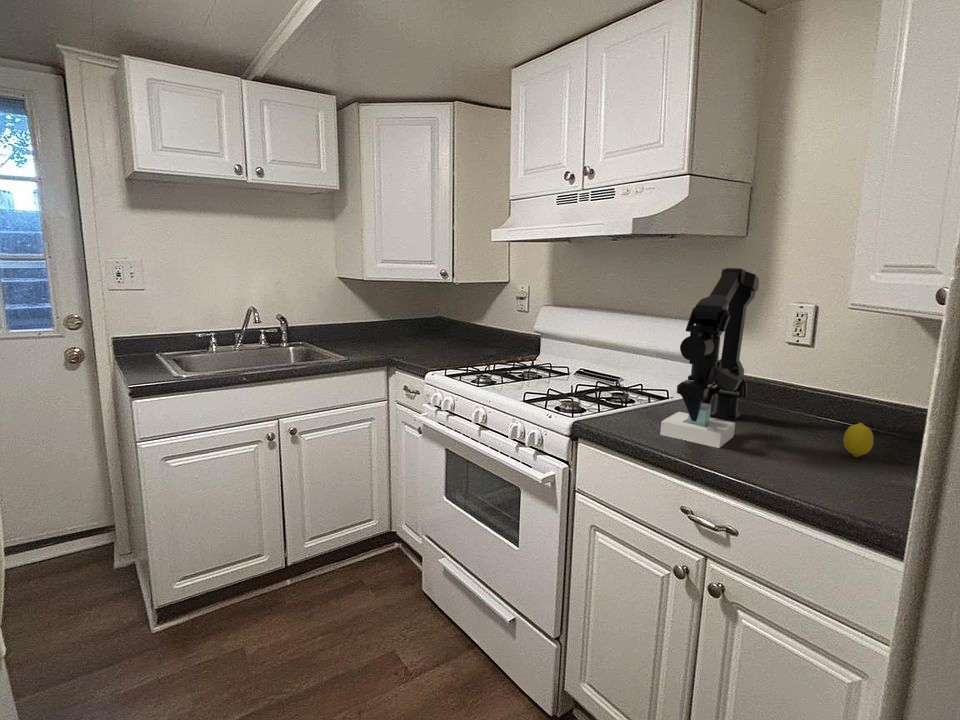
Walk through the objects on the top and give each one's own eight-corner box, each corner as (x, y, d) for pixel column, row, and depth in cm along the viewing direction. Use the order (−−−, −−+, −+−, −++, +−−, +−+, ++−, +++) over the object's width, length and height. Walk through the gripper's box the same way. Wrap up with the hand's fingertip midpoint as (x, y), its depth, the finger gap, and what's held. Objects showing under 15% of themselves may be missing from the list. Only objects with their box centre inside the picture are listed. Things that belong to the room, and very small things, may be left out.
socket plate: (677, 424, 146) (678, 409, 145) (733, 436, 138) (735, 420, 137) (660, 434, 137) (661, 418, 136) (719, 448, 128) (721, 431, 128)
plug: (691, 432, 140) (694, 401, 139) (707, 435, 138) (711, 404, 136) (686, 435, 137) (689, 404, 135) (702, 439, 135) (706, 407, 133)
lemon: (865, 454, 127) (871, 421, 126) (873, 462, 122) (879, 428, 120) (838, 451, 129) (843, 418, 127) (844, 459, 124) (850, 424, 122)
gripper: (729, 365, 122) (721, 433, 124) (751, 355, 136) (743, 417, 139) (679, 358, 128) (672, 423, 131) (704, 349, 143) (698, 408, 146)
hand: (698, 418), depth 136 cm, fingers open, 7 cm apart
